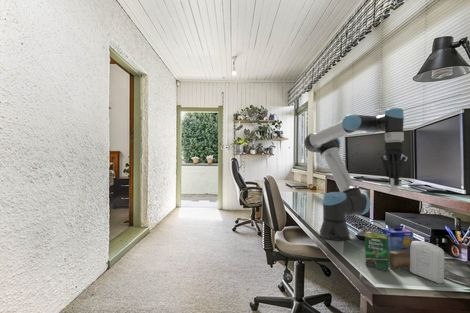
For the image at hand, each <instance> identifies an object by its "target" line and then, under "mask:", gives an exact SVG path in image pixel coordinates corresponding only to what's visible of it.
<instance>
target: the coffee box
mask: <svg viewBox="0 0 470 313" xmlns="http://www.w3.org/2000/svg"><path fill="white" fill-rule="evenodd" d="M364 252H365V253H364V257H365V258H364V260H365V266H367V267H371V268H375V269H379V270H383V271H389V268H390V267H389V256H388V235H387V234H383V233H378V232H371V231H365V232H364Z"/></svg>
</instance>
